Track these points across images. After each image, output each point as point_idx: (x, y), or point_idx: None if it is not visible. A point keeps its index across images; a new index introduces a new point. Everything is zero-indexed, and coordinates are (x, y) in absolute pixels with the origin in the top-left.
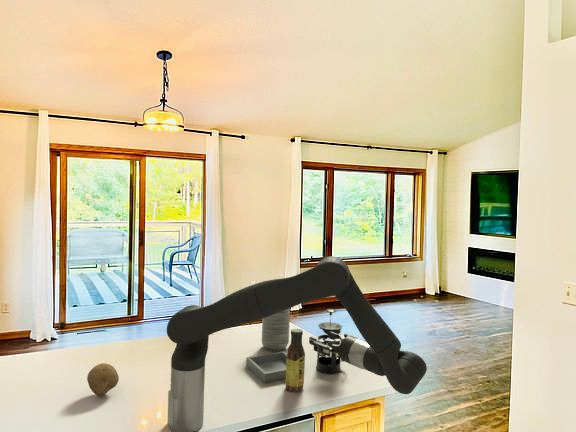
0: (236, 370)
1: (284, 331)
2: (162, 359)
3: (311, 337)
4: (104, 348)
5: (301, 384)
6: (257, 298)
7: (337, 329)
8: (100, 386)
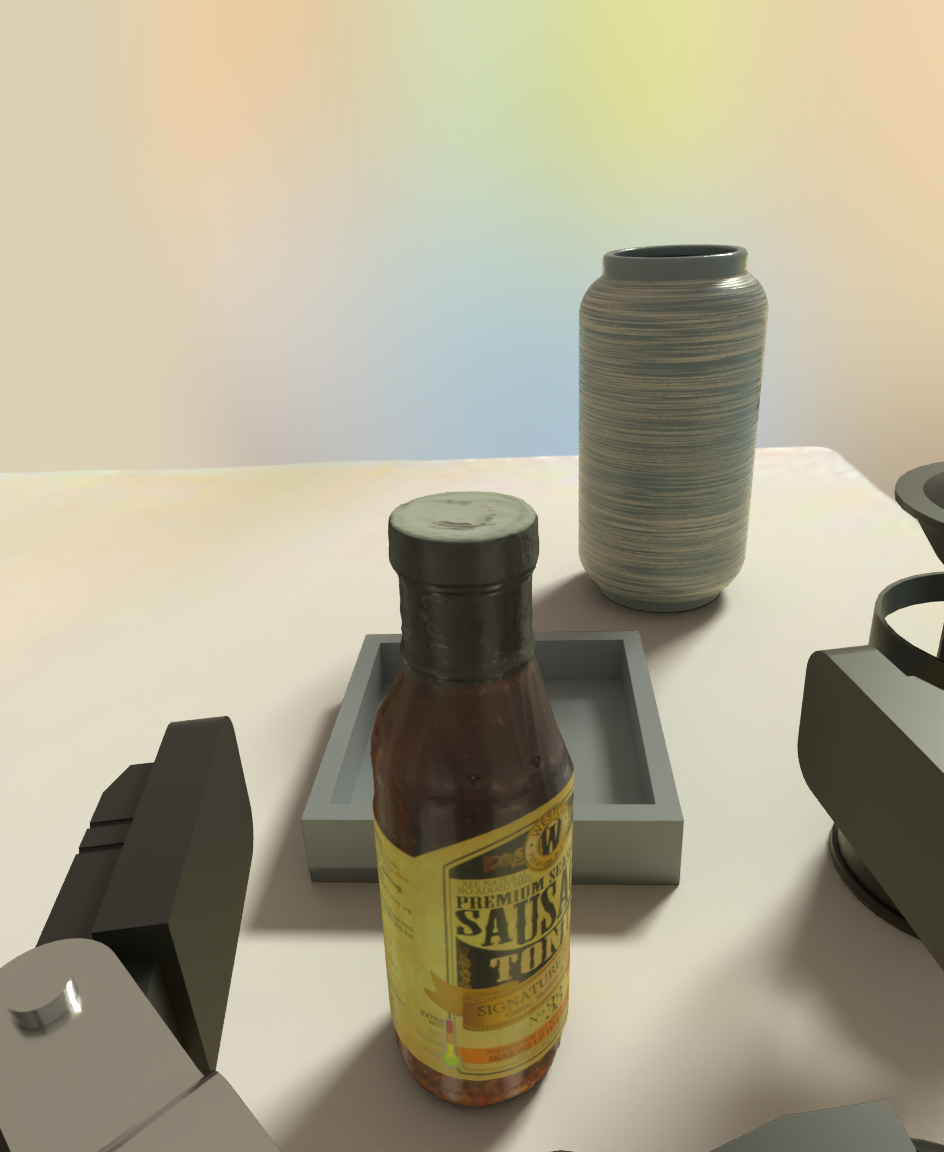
0: (290, 702)
1: (696, 499)
2: (92, 563)
3: (159, 752)
4: (12, 487)
5: (502, 1067)
6: None
7: None
8: None
